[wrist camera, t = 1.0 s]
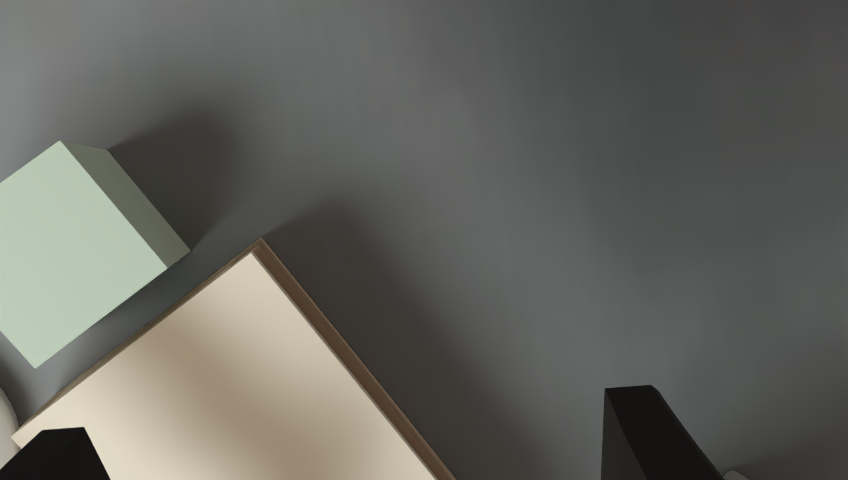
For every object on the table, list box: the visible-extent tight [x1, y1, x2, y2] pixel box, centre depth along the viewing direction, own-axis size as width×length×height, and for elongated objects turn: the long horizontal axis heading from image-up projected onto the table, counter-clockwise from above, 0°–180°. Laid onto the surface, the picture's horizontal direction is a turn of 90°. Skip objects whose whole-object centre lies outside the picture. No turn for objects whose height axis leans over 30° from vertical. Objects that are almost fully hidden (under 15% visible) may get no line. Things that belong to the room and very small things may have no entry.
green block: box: [0, 140, 191, 368], centre depth 21 cm, size 4×4×5 cm
